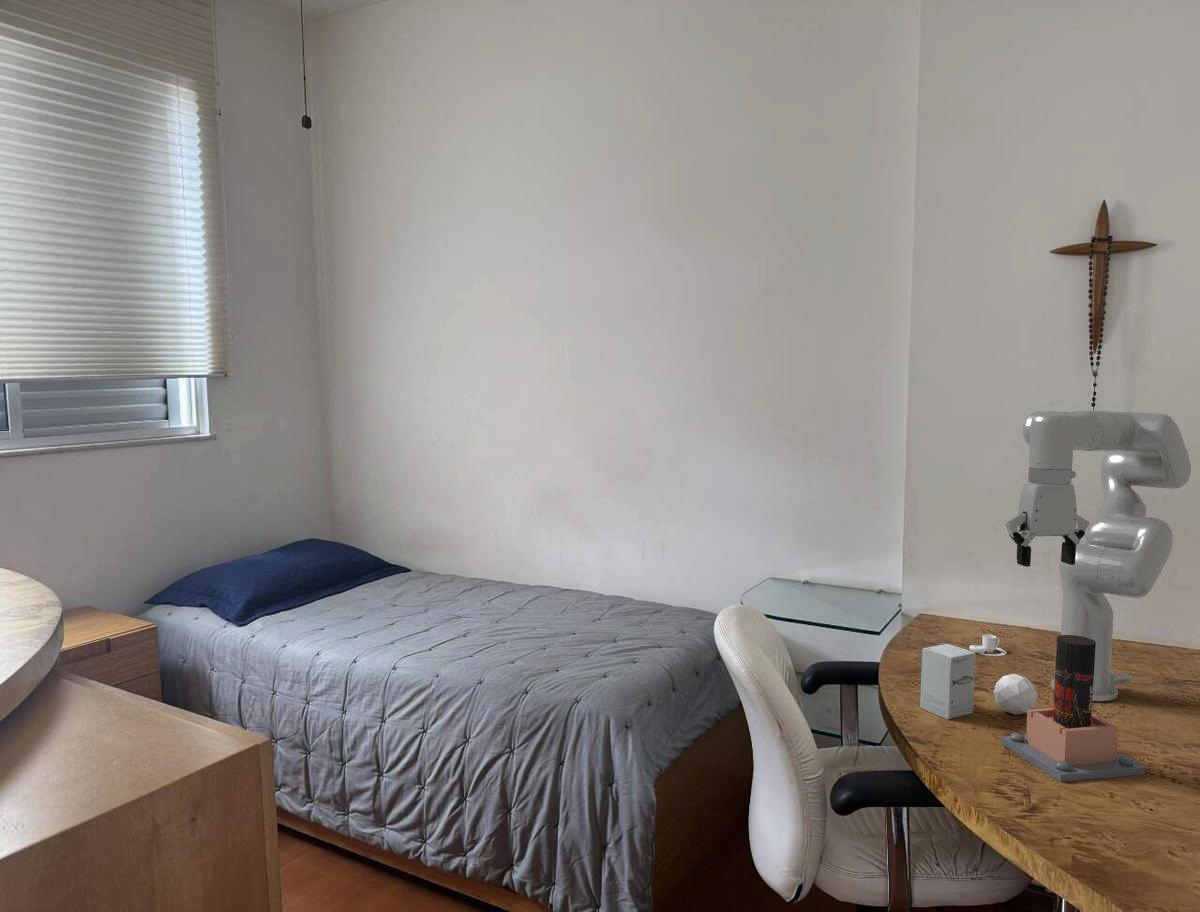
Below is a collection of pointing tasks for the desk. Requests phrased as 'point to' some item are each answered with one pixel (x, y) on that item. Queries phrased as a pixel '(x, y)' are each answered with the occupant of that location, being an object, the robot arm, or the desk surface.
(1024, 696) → the geometric ball
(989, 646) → the teacup and saucer
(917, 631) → the desk surface
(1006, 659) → the desk surface
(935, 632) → the desk surface
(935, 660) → the supplement box
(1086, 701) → the deodorant
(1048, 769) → the tower base
